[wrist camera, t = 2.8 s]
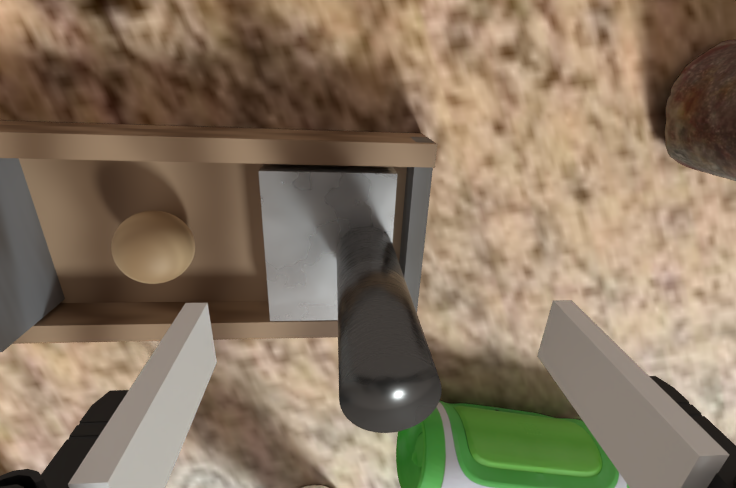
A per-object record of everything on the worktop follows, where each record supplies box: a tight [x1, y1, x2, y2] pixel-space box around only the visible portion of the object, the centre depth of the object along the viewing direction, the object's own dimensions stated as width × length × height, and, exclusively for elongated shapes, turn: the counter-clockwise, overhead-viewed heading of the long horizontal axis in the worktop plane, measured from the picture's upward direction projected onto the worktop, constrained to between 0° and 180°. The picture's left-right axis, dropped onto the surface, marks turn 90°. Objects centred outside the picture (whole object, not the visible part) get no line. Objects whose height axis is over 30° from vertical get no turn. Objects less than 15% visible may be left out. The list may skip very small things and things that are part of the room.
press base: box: [0, 120, 437, 352], centre depth 21 cm, size 26×12×6 cm, turn 88°
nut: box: [111, 211, 195, 284], centre depth 21 cm, size 4×4×4 cm
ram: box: [259, 164, 441, 433], centre depth 17 cm, size 7×9×13 cm
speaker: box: [396, 401, 630, 488], centre depth 31 cm, size 18×7×8 cm, turn 75°
